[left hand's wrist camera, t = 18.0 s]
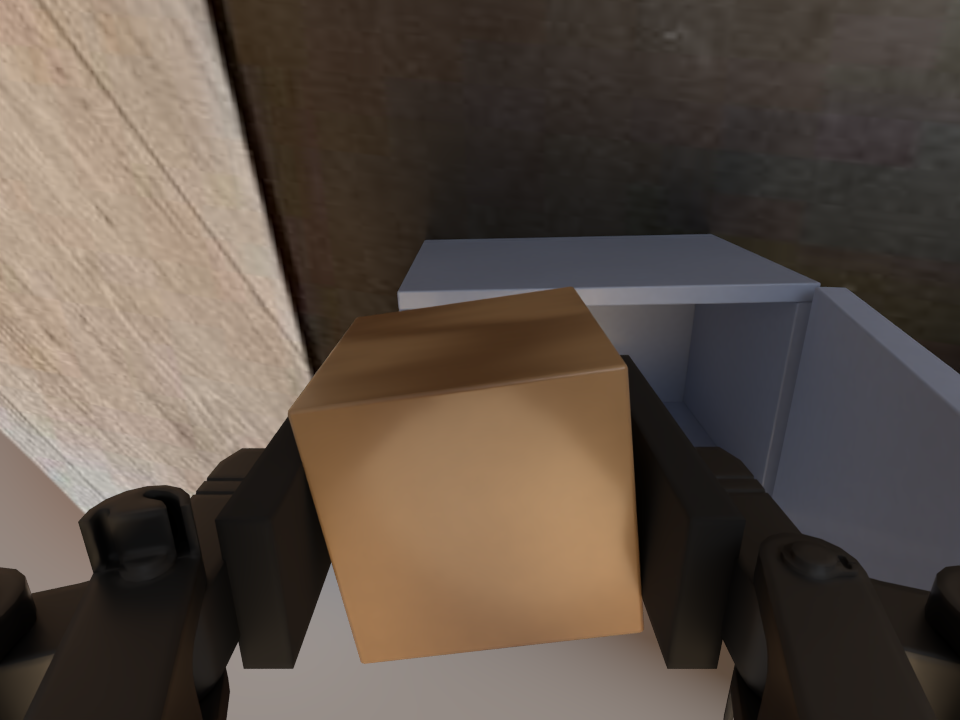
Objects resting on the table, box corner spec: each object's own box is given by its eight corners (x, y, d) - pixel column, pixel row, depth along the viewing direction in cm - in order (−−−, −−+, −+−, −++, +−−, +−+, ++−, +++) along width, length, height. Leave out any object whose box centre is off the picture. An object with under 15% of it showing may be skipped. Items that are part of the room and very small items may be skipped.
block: (398, 501, 15) (360, 666, 11) (355, 316, 14) (285, 411, 9) (591, 476, 15) (645, 634, 10) (573, 285, 13) (628, 364, 8)
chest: (434, 411, 36) (414, 522, 26) (424, 239, 32) (396, 291, 21) (689, 406, 35) (772, 517, 25) (712, 233, 31) (821, 282, 21)
